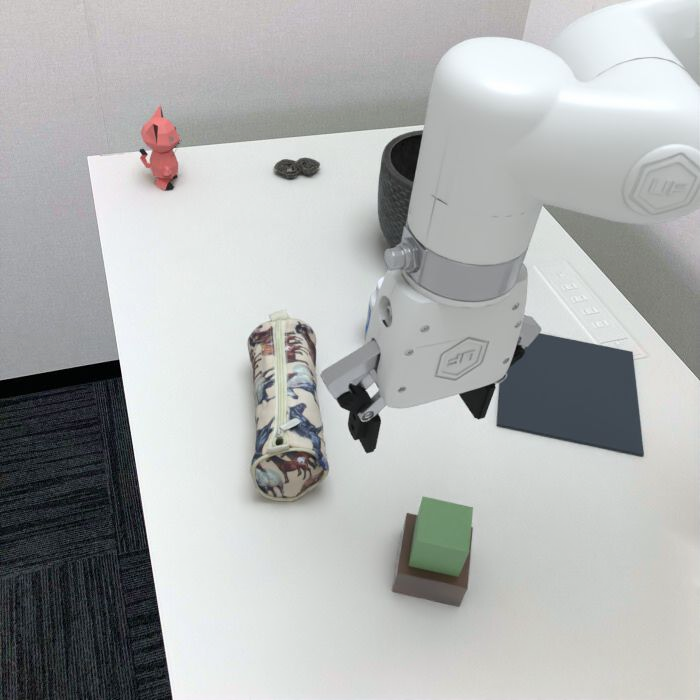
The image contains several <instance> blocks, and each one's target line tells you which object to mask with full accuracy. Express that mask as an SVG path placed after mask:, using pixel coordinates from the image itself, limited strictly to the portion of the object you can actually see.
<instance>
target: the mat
mask: <svg viewBox="0 0 700 700" xmlns="http://www.w3.org/2000/svg"><path fill="white" fill-rule="evenodd" d="M524 350H525V354H524V355H523V357H522V358H521V359H519V360H518V361H517V362H516V363H514V364H513V365H512V366H511V367H510V368H508V370H507V372H506V373H507V377H506V379H505V380H504V381H502V382H501V383H499V386H498V387H499V388H498V403H497V417H496V427H499V428H504V429H509V430H514V431H518V432H523V433H527V434H532V435H537V436H542V437H547V438H551V439H556V440H562V441H564V442H565V441H567V442H571V443H575V444H579V445H583V446H584V445H585V446H590V447H594V448H599V449H604V450H609V451H612V452H613V451H614V452H618V453H622V454H623V453H624V454H628V455H633V456H638V457H642V458H643V457H644V455H645V450H644V442H643V441H644V440H643V434H642V424H641V415H640V406H639V396H638V388H637V380H636V378H637V377H636V369H635V361H634V352H633V351H632V350H626V349H622V348H615V347H612V346H606V345H602V344H596V343H592V342H586V341H581V340H578V339H577V340H576V339H571V338H567V337H561V336H557V335H552V334H546V333H541V332H540V333H539V334H538V336H537V337H536V338H535V339H534V340H533V341H532V343H531V344H530V345H529V346H528V347H525V348H524Z"/></svg>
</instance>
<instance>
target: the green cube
mask: <svg viewBox="0 0 700 700" xmlns="http://www.w3.org/2000/svg"><path fill="white" fill-rule="evenodd" d="M473 511H474V507H473V506H469V505H465V504H460V503H455V502H451V501H445V500H443V499H442V500H441V499H437V498H432V497H428V496H422V498H421V501H420V505H419V509H418V511H417V514H416V515H417V518H416V521H415V526H414V533H413V539H412V546H411V553H410V559H409V566H411V567H415V568H420V569H424V570H429V571H433V572H438V573H442V574H447V575H451V576H455V577H459V575H460V572H461V570H462V568H463V565H464V563H465V560H466V558H467V556H468V553H469V547H470V536H471V527H472V524H473V523H472V522H473V514H474V513H473Z"/></svg>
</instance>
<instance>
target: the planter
mask: <svg viewBox="0 0 700 700" xmlns="http://www.w3.org/2000/svg"><path fill="white" fill-rule="evenodd" d="M422 135H423V129H421V130H413V131H409V132H405V133H402V134H400V135H398V136H396V137H394V138H392V139H390V141H388V142H387V144H386V145H385V146H384V149H383V151H382V154H381V158H380V159H381V160H380V168H379V174H378V185H377V186H378V187H377V216H378V224H379V227H380V230H381V233H382V235H383V238H384V239H385V240H386V243H388V245H389V246H390V248H395V247H396V245H398V244H400V243H401V240H402V235H403V229H404V226H406V222H407V216H408V210H409V204H410V199H411V194H412V189H413V183H414V178H415V173H416V168H417V162H418V157H419V151H420V146H421V140H422Z"/></svg>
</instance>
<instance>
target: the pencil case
mask: <svg viewBox="0 0 700 700" xmlns="http://www.w3.org/2000/svg"><path fill="white" fill-rule="evenodd" d="M268 317H269V319H270V320H268V321H265V322H263V323H260V324H259V325H257V326H256V327H255V328H254V329H253V330H252V332H251V333H250V334H249V336H248V338H247V343H246V346H247V353H248V356H249V357H248V358H249V361H250V365H251V368H252V383H253V391H254V392H253V394H254V395H253V396H254V403H255V408H256V409H255V414H254V422H255V429H256V430H255V431H256V432H255V444H254V446H255V447H254V451H255V452H254V454H253V456H252V459H251V463H250V466H249V472H250V476H251V479H252V482H253V484H254V487H255V489H256V490H257V492H258V493H259V494H260V495H262V496H263V497H265V498H267V499H270V500H273V501H278V502H290V503H291V502H295V501H296V500H299V499H300V498H301V497H303V496H304V495H305V494H307V493H308V492H309V491H311V490H313V489H315V488H316V487H317V486H319V485H320V484H322V482H324V481H325V479H326V478H327V477H328V475H329V472H330V464H329V461H328V456H327V455H328V454H327V452H326V451H327V450H326V440H325V436H324V423H323V419H322V414H321V410H320V409H321V408H320V402H319V397H318V396H319V395H318V390H317V385H318V384H317V383H318V381H317V372H316V371H317V368H316V367H317V337H316V336H317V335H316V333H315V330H314V329H313V328H312V327H311V325H309V324H308V323H307V322H305V321H304V320H302V319H300V318H297V317H289V313H288V311H287V309H282V310H279V311H275V312H272V313H270V314H268Z"/></svg>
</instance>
